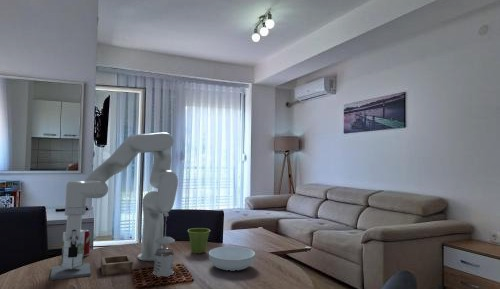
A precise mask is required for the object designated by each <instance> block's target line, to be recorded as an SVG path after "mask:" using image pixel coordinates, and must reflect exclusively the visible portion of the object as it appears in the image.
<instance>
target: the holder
mask: <svg viewBox="0 0 500 289" xmlns="http://www.w3.org/2000/svg"><path fill="white" fill-rule="evenodd" d="M133 265H134V263H133V260H132V257H131V256H130V254H123V255H111V256H102V257H101V258H100V271H101V274H102V275H107V276H108V275H114V274H115V275H116V274H122V273H124V274H125V273H131V272H133Z"/></svg>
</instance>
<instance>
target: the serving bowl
mask: <svg viewBox="0 0 500 289" xmlns="http://www.w3.org/2000/svg"><path fill="white" fill-rule="evenodd" d="M255 256H256V252H255V251H254V250H253V249H249V248H247V247H246V248H245V247H242V246H219V247H214V248H212V249H210V250H209V251H208V257H209V261H210V262H211V263H210V264H212V265H213V266H214V267H215V268H217V269H220V270H224V271H228V270H230V271H229V272H234V271H235V270H237V271H241V270H244V269H245V270H246V269H247V268H249V267H250V266H251V265H252V264H253V262H254V260H255ZM235 272H236V271H235Z"/></svg>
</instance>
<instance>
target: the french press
mask: <svg viewBox="0 0 500 289" xmlns="http://www.w3.org/2000/svg"><path fill="white" fill-rule="evenodd" d="M169 216H170V215H169V212H168V213H165V214H163V217H165V220H167V217H169ZM164 231H165V232H164V235H163V237H160V238H158V239H156V240H155V242H157V243H159V246H160V244H162V246H163V248H160V249H157V250H156V252H157V253H155V258H154V261H153V262H154V263H153V271H152V273H153V274H154V275H157V276H170V275H172V274H173V273H174V272H175V271H174V258H175V257H174V255H175V253H174V249H173V248H172V249H171V247H170V248H169V247H166V245H168V244H170V245H171V244H173V243H175V241H176V239H174V238H173V237H171V236H167V234H166V233H167V225H165V228H164ZM161 253H162V254H163V257H161ZM155 260H156V261H155Z"/></svg>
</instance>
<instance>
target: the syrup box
mask: <svg viewBox="0 0 500 289" xmlns="http://www.w3.org/2000/svg"><path fill="white" fill-rule="evenodd" d="M72 231H73V230H72ZM84 237H85V231H83V230H81V232H80V238H79V240H77V247H78V250H77V257H71V258H68V249H69V245H70V239H69V240H68V241H66V230H65V231H63V233H62V248H61V262H60V263H61V264H60V266H61V268H67V269H73V268H76V267H79V266H82V265H83V264H84V257H83V253H84ZM76 238H77V236H76ZM76 238H75V239H76ZM71 239H72V238H71Z"/></svg>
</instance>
